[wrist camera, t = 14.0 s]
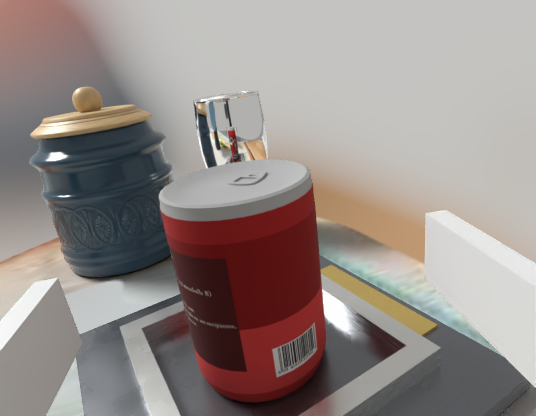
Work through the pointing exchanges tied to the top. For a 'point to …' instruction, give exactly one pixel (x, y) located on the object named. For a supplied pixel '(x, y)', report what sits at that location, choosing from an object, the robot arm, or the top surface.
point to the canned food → (249, 274)
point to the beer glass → (230, 128)
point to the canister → (104, 185)
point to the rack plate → (324, 379)
